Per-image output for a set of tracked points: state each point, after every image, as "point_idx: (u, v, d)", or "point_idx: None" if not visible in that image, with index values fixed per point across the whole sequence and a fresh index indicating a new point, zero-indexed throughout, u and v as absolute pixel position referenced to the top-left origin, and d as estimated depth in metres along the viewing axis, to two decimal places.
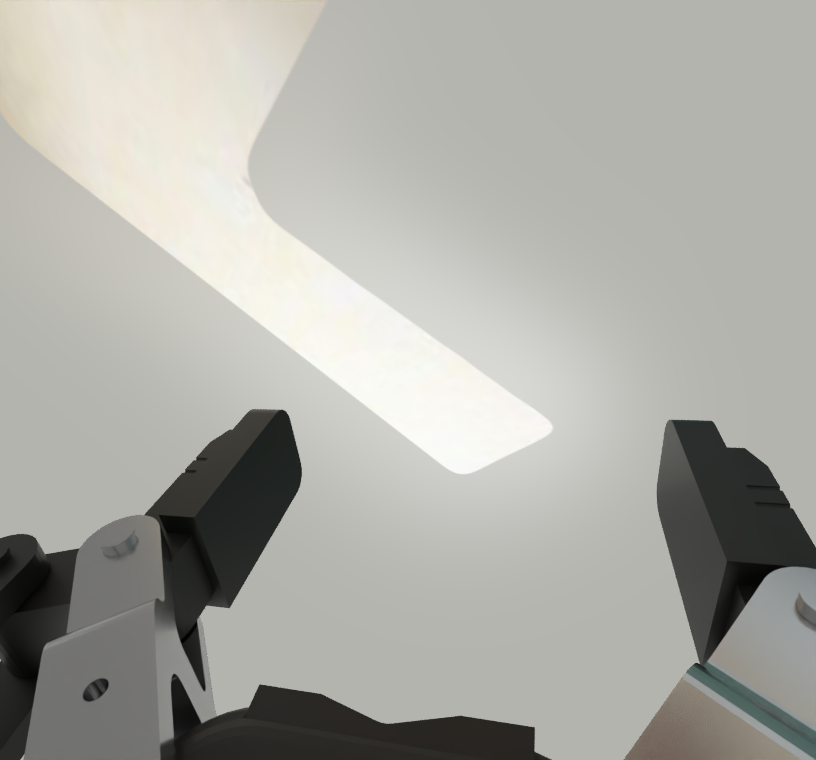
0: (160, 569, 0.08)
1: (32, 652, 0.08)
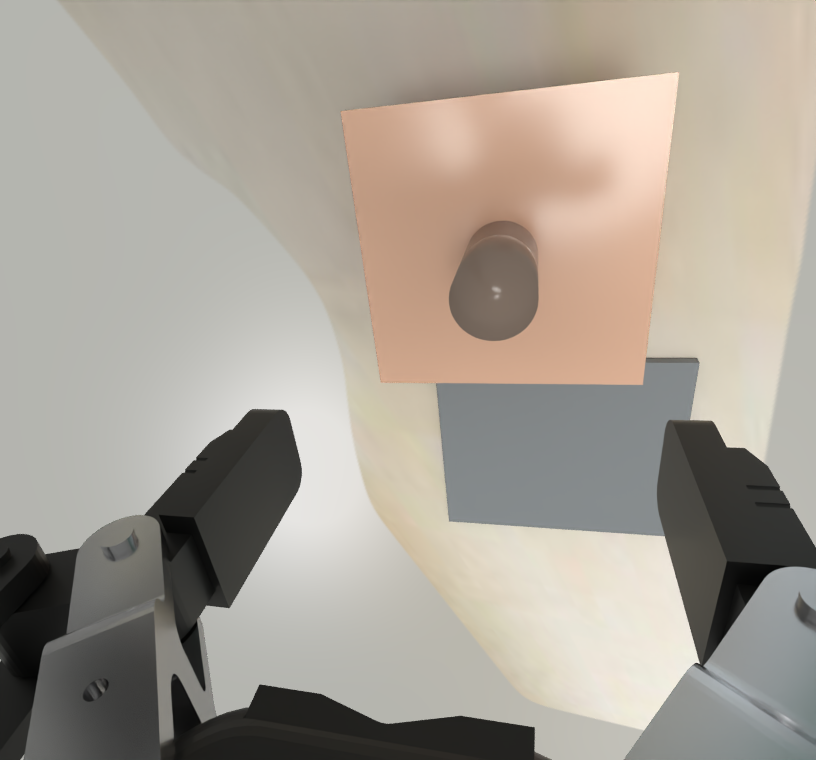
0: (160, 569, 0.08)
1: (32, 652, 0.08)
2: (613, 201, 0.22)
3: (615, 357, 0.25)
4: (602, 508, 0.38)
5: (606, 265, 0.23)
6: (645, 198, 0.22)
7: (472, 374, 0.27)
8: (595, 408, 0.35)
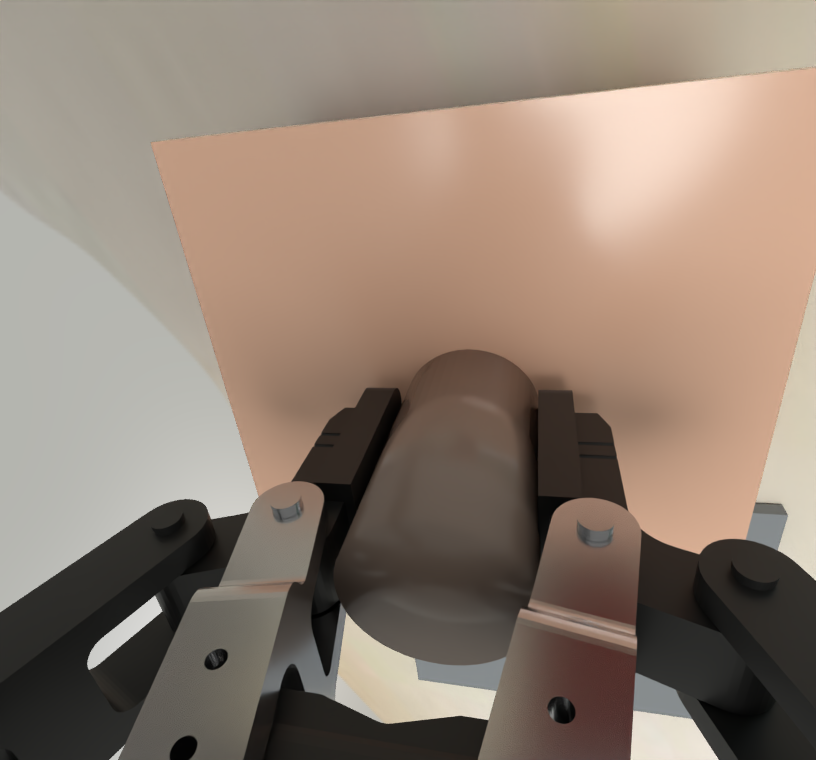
0: (311, 547, 0.08)
1: None
2: (692, 326, 0.11)
3: None
4: None
5: (671, 434, 0.12)
6: (760, 323, 0.10)
7: None
8: None
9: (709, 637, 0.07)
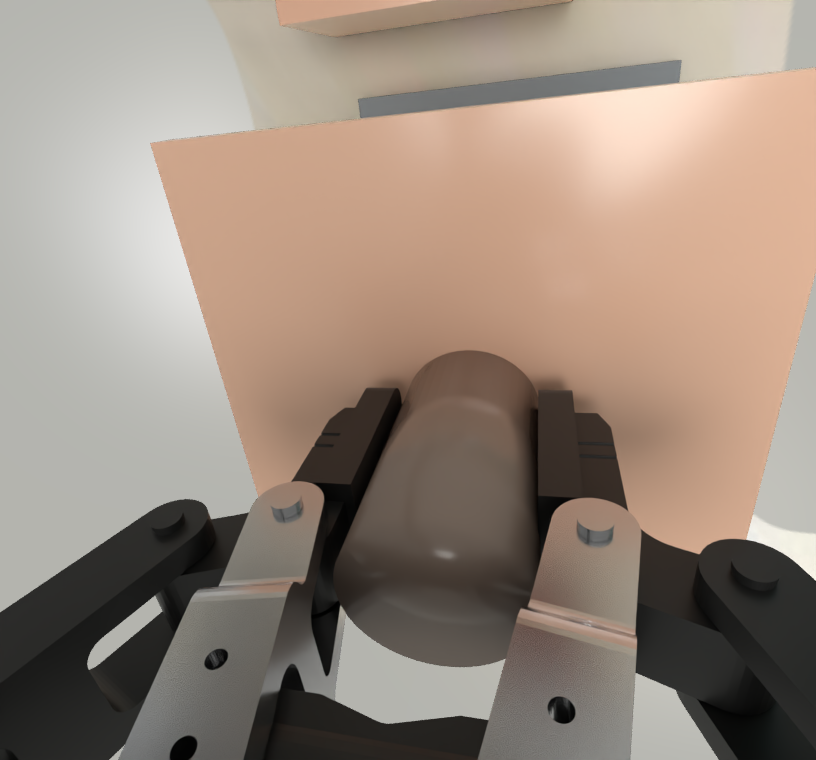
0: (311, 547, 0.08)
1: None
2: (692, 326, 0.11)
3: None
4: None
5: (672, 435, 0.12)
6: (760, 324, 0.10)
7: None
8: None
9: (709, 637, 0.07)
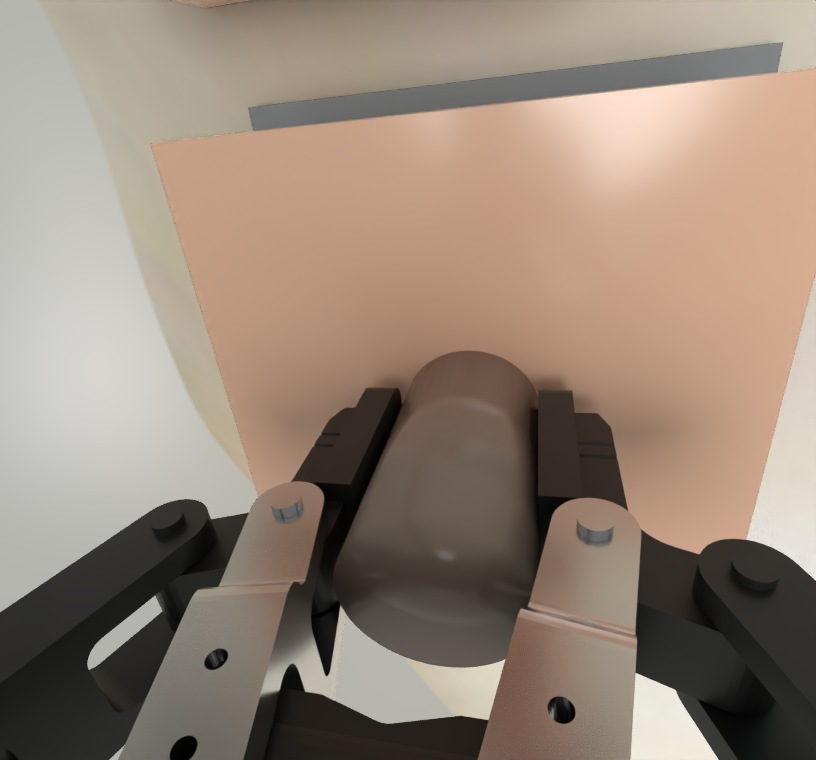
0: (311, 547, 0.08)
1: None
2: (692, 327, 0.11)
3: None
4: None
5: (672, 436, 0.12)
6: (760, 324, 0.10)
7: None
8: None
9: (709, 637, 0.07)
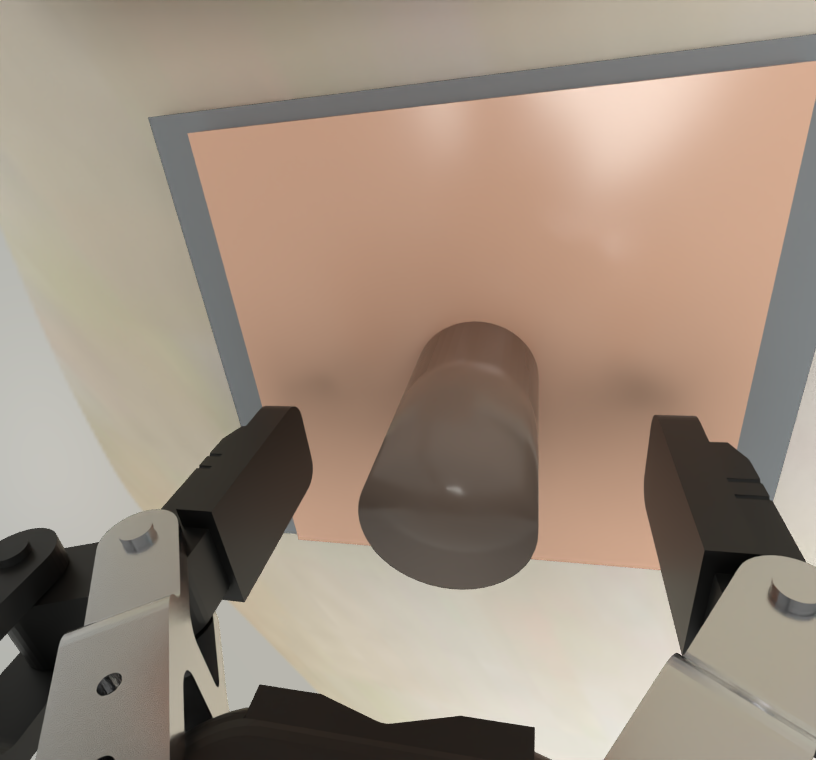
0: (177, 564, 0.08)
1: (50, 645, 0.08)
2: (675, 297, 0.12)
3: None
4: None
5: (658, 398, 0.13)
6: (735, 294, 0.12)
7: None
8: None
9: None
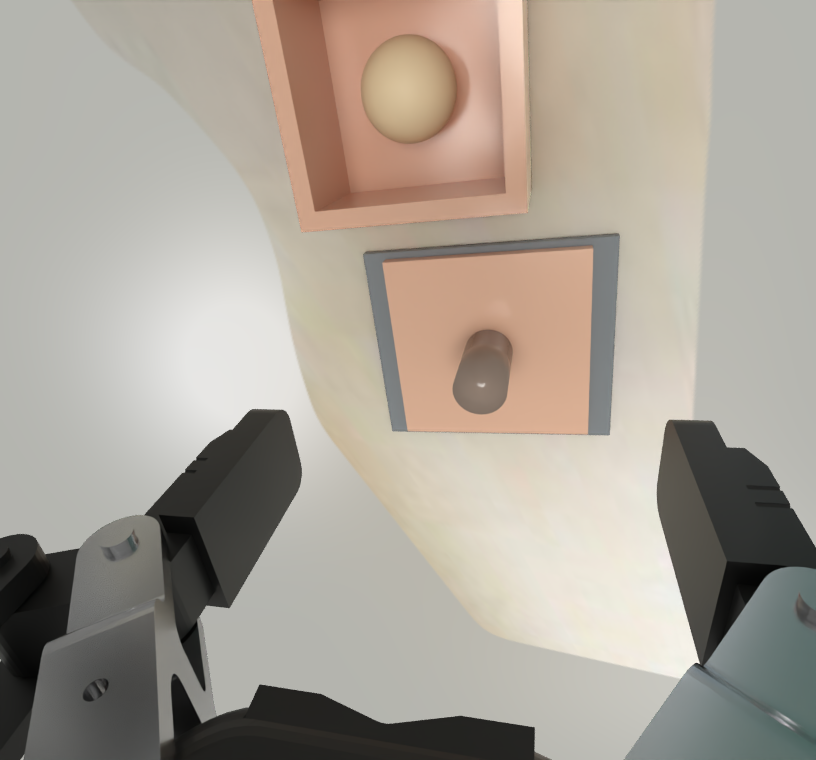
0: (160, 569, 0.08)
1: (32, 652, 0.08)
2: (559, 320, 0.34)
3: (568, 416, 0.37)
4: None
5: (558, 358, 0.35)
6: (579, 318, 0.33)
7: (471, 426, 0.39)
8: None
9: None
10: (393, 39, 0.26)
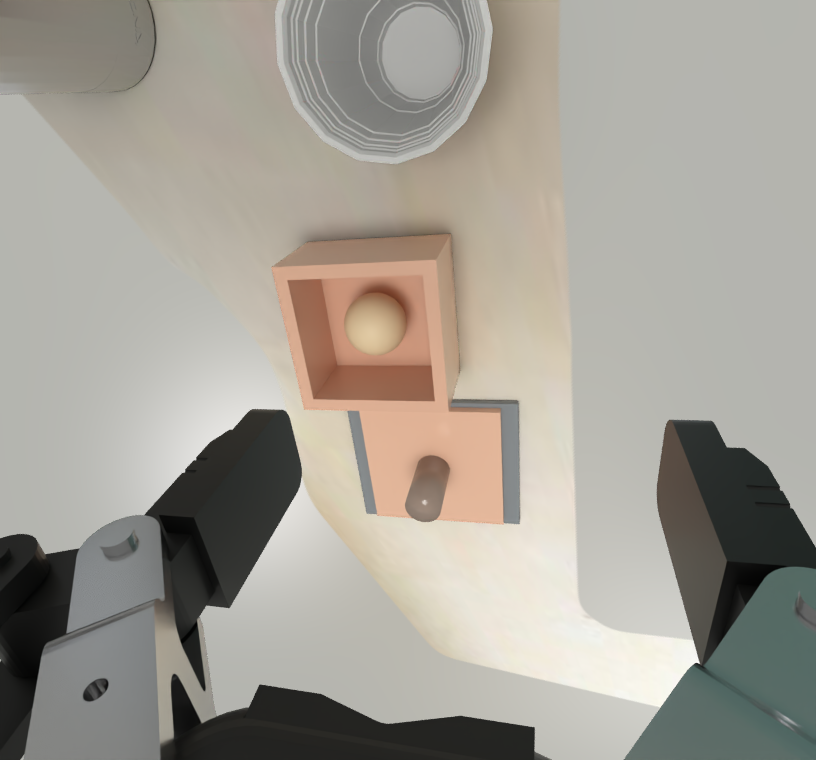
0: (160, 569, 0.08)
1: (32, 652, 0.08)
2: (480, 453, 0.49)
3: (489, 512, 0.52)
4: None
5: (480, 475, 0.50)
6: (493, 453, 0.49)
7: None
8: None
9: None
10: (365, 301, 0.41)
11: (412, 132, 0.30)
